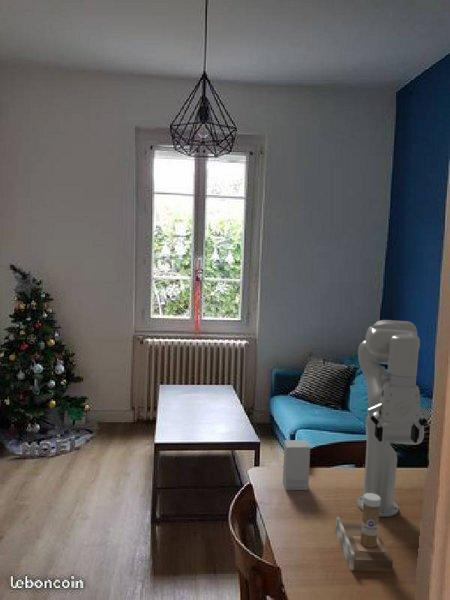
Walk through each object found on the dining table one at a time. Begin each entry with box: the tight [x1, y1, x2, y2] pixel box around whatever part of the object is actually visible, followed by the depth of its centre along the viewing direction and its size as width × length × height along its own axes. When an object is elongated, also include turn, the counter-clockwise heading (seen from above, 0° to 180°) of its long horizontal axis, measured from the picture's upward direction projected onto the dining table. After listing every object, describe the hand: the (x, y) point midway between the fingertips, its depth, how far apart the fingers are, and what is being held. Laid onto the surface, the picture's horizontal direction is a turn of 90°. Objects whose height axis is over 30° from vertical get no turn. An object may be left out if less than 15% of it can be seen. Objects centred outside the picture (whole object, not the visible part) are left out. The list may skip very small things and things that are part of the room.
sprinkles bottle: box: [360, 493, 381, 548], centre depth 139 cm, size 5×5×14 cm
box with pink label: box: [334, 516, 394, 573], centre depth 142 cm, size 18×11×4 cm, turn 0°
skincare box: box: [282, 439, 311, 491], centre depth 177 cm, size 8×7×16 cm
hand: (396, 440), depth 143 cm, fingers open, 9 cm apart
